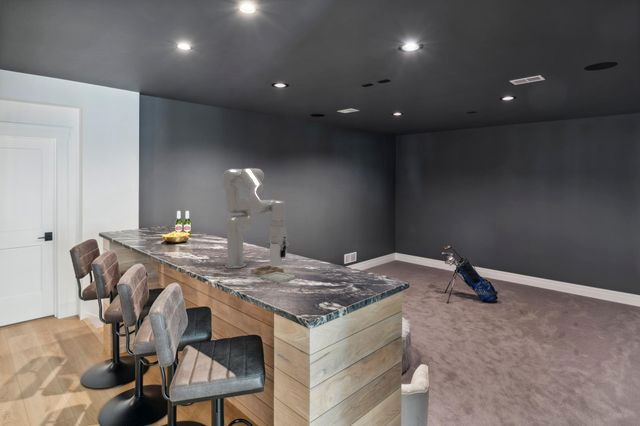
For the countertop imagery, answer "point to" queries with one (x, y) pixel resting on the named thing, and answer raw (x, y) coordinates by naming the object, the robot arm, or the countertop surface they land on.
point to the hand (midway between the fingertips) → (278, 256)
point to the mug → (276, 254)
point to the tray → (278, 277)
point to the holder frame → (259, 270)
